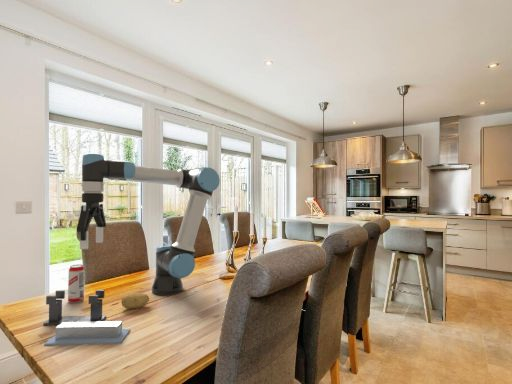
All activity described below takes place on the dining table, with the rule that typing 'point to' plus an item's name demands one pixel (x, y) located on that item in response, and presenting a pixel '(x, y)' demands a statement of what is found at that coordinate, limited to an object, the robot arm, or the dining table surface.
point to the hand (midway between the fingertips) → (92, 245)
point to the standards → (57, 317)
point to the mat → (88, 340)
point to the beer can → (76, 283)
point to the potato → (134, 300)
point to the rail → (88, 330)
